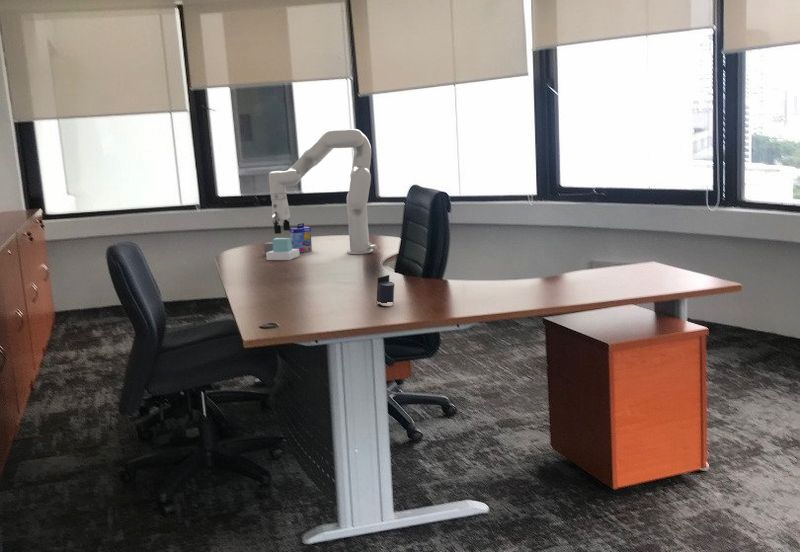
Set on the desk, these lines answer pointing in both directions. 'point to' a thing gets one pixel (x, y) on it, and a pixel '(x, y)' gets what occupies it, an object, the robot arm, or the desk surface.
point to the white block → (282, 255)
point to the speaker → (385, 290)
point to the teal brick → (282, 244)
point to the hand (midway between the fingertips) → (282, 231)
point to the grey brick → (268, 247)
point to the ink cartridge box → (301, 238)
